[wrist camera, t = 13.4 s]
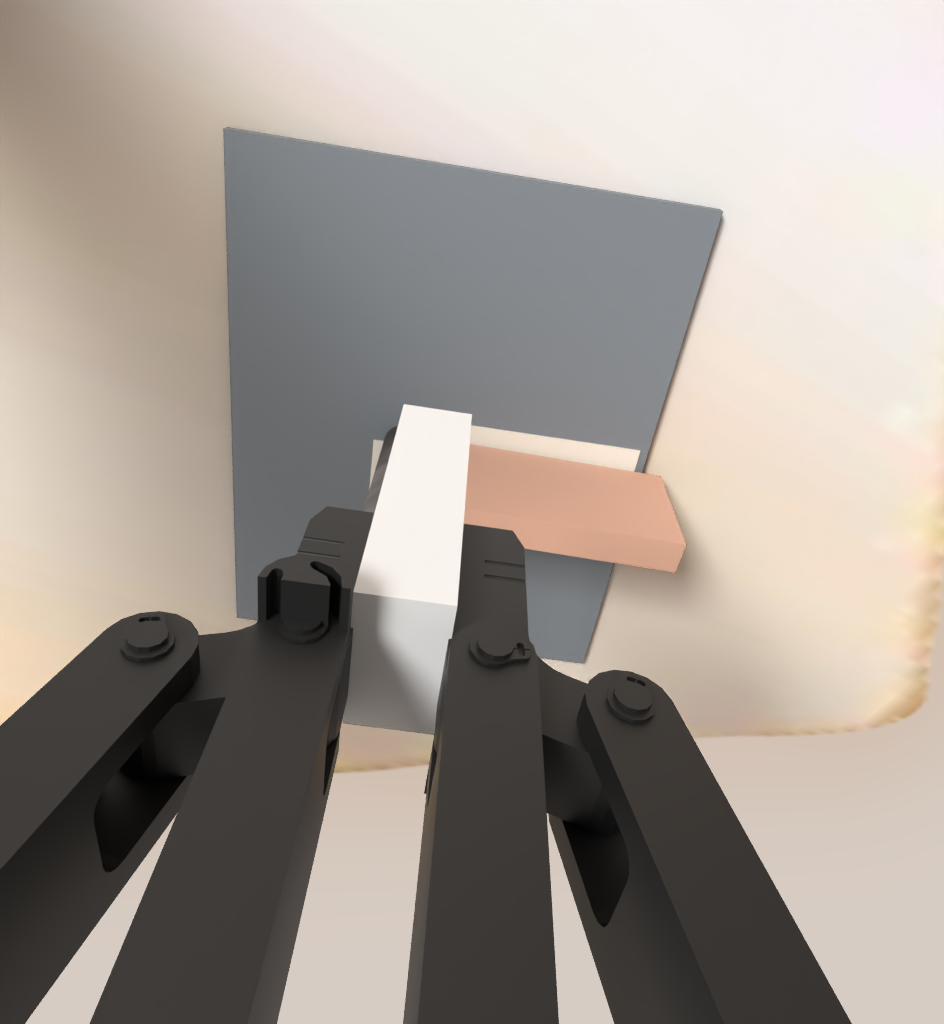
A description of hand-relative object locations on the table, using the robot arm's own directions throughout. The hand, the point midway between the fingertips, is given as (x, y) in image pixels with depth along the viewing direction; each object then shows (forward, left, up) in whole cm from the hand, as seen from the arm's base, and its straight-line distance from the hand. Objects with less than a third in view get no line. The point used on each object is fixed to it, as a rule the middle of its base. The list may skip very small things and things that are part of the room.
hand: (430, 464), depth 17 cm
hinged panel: (+7, -12, -23) cm, 27 cm away
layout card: (0, -12, -24) cm, 27 cm away
